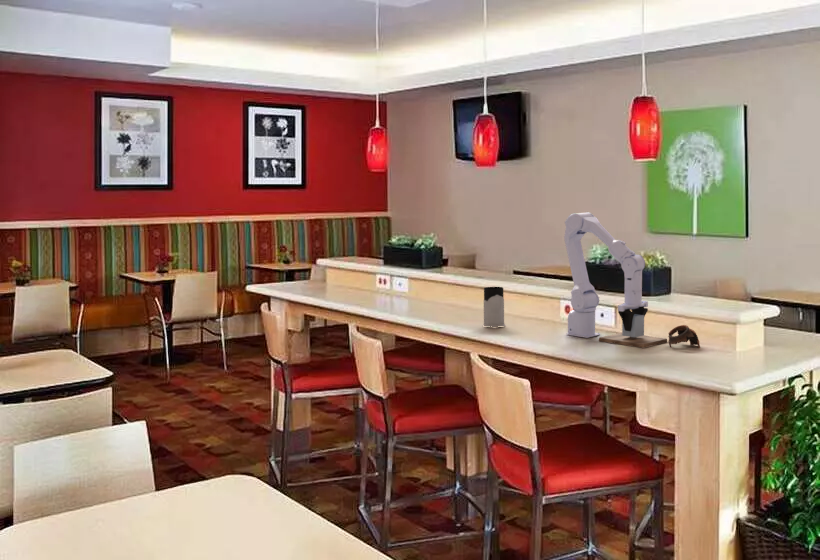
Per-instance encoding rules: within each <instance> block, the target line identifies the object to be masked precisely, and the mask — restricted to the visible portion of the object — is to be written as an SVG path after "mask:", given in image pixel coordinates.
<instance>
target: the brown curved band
mask: <svg viewBox="0 0 820 560" xmlns="http://www.w3.org/2000/svg"><path fill="white" fill-rule="evenodd" d="M676 333H677V334H678V335H675V334H676ZM667 337H668V340H667V343H668V345H669V348H671V347H672V345H678V344H681V343H688V342H689V344H690V346H694V345H695V346H697V347H698V348H699V349H700V348H701V345H700V344H701V343H700V340H699V337H698V335H697V332H695V330H693V328H690V327H689V326H688V325H687V324H686V325H685V324H681V325H678V326H676V327H673V328H672V329H671V330H670V331H669V332H668V336H667Z"/></svg>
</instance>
